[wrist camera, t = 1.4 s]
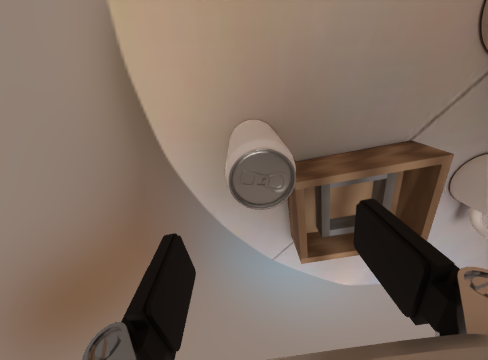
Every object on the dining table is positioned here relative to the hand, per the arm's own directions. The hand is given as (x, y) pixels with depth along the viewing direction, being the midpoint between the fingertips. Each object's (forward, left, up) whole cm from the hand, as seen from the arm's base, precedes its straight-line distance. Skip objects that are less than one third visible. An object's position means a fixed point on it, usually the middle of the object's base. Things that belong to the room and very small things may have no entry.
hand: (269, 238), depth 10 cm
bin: (-13, +11, -18) cm, 25 cm away
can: (0, 0, -19) cm, 19 cm away
